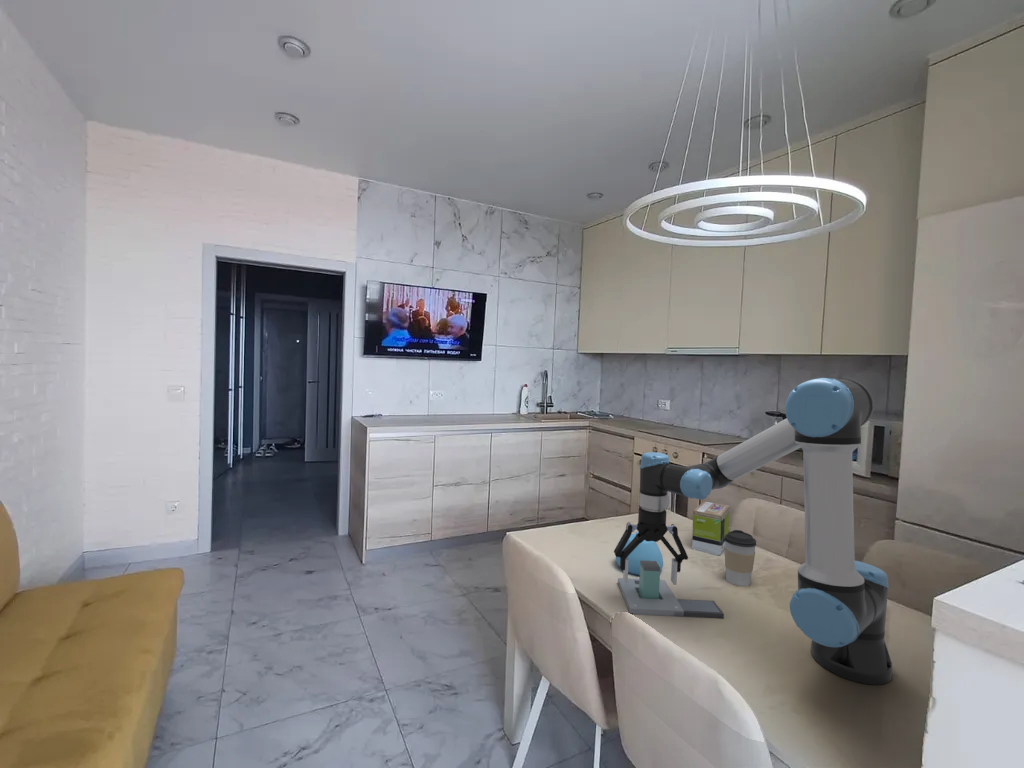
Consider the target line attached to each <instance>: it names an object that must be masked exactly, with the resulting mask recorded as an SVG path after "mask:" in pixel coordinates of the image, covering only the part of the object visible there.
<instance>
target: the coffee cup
mask: <svg viewBox="0 0 1024 768" xmlns="http://www.w3.org/2000/svg"><path fill="white" fill-rule="evenodd" d="M724 540H725V549H724V566H725V580H726V582H727V583H730V584H731V585H734V586H738V587H739V586H740V587H748V586H750V585H751V581H752V574H753V571H754V564H755V563H754V562H755V557H756V546H757V540H756V539H755V538H754V537H753V535H752V534H750V533H747V532H744V531H743V530H740V529H734V530H732V531H729V533H728V534H726V535H725V538H724Z"/></svg>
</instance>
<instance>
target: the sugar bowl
mask: <svg viewBox="0 0 1024 768" xmlns="http://www.w3.org/2000/svg"><path fill="white" fill-rule="evenodd" d="M638 533H639V532H638V531H636V532H635V533H632V534H631V536H630V538H629V540H628V542H627V543H626V545H625V547H626V546H627V545H628V544H629V543H630V542H631V541H632V540H633V539H634V538H635V536H636V535H637V534H638ZM657 543H658V542H654V541H646V540H644V541H643V542H642V543H640V544H639V545H638V546H637V547H636V548H635V549H634V550H633V551H632V552H631V553H630V555H629V556H628V557H627V558H628V560H629V561H628V574H631V575H635V576H640V560H642V561H656V562H657V563H658V565H659V567H660V571H662V569H663V567H664V559H663V553H662V551H661V549H660V547H659V545H658V544H657ZM625 547H624V548H625ZM623 550H624V549H623ZM623 550H622V551H623ZM615 561H616V563H617V564H618V567H620V557H616V556H615Z"/></svg>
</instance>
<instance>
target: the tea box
mask: <svg viewBox="0 0 1024 768" xmlns="http://www.w3.org/2000/svg"><path fill="white" fill-rule="evenodd" d="M730 523H731V505H729V504H728V505H727V504H723V503H722V504H721V503H715V502H709V501H705V500H704V501H702V502H701V503H700V504H699V505H698V506H697V507H695V508H694V510H693V512H692V534H691V535H692V536H691V537H692V538H691V540H692V541H691V548H692V550H694V549H695V550H694V551H697V552H703V553H705V554H706V553H707V554H711V555H715V556H721V555H722V553H724V552H725V540H724V538H725V535H726V534H728V533H729V532H731V531H730V527H731V525H730Z"/></svg>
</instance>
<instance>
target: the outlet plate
mask: <svg viewBox="0 0 1024 768" xmlns="http://www.w3.org/2000/svg"><path fill="white" fill-rule="evenodd" d="M617 584H618V587H619V589H620V592H621V593H622V596H623V599H624V601H625V605H626V606H627V609H628V612H629V614H630V613H633V614H632V615H644V616H645V615H647V616H648V615H649V616H667V617H684V616H683V615H684V610H683V609H682V607H681V606H680V604H679V602H678V601H677V599H678V598H677V597H676V596H675V595H674V592H673V591H672V589H671V588H670V586H669V585H668V582H667V581H666V580H665V579H660V584H659V599H642V598H640V596H639V578H629V577H628V583H625V582H624V579H623V577H617ZM674 612H675V613H674ZM676 612H677V613H676ZM680 613H681V614H680Z"/></svg>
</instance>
